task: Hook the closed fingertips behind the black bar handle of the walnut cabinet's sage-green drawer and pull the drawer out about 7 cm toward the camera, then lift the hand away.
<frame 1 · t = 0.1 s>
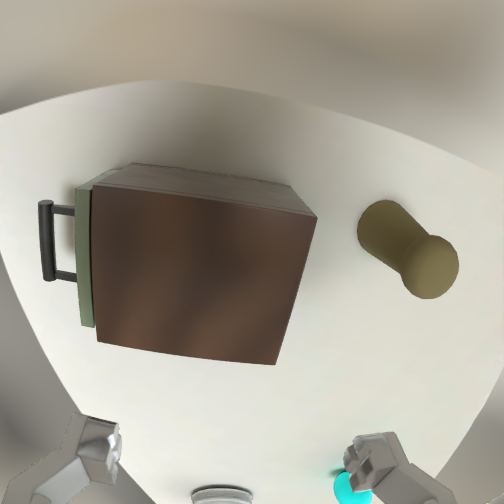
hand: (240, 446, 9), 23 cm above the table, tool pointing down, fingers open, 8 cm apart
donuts: (359, 463, 52), on the table
drawer: (140, 251, 26), point 5 cm above the table, slide at 0.5 cm
cabinet: (200, 237, 31), on the table
cork: (382, 227, 32), on the table
lid: (221, 494, 53), on the table
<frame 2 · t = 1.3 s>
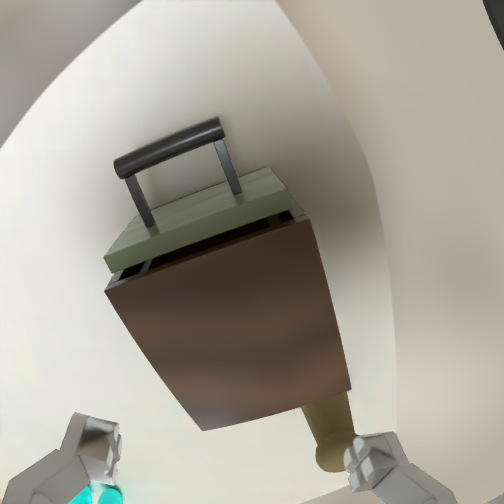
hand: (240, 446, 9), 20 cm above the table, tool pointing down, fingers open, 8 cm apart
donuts: (98, 486, 46), on the table
drawer: (217, 260, 23), point 5 cm above the table, slide at 0.5 cm
cabinet: (237, 282, 29), on the table
cork: (320, 390, 36), on the table
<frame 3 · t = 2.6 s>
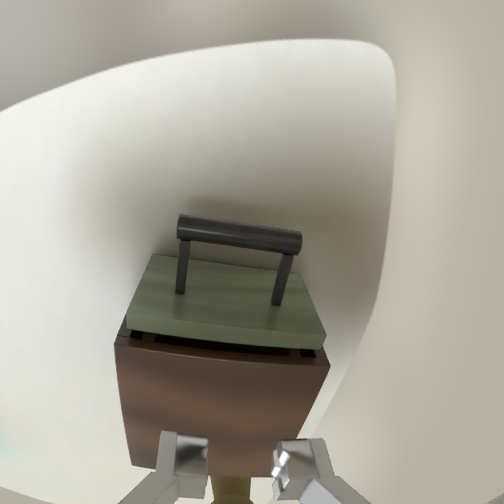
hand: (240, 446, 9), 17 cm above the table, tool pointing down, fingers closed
drawer: (219, 341, 23), point 5 cm above the table, slide at 0.5 cm
cabinet: (213, 347, 29), on the table
cork: (229, 449, 36), on the table
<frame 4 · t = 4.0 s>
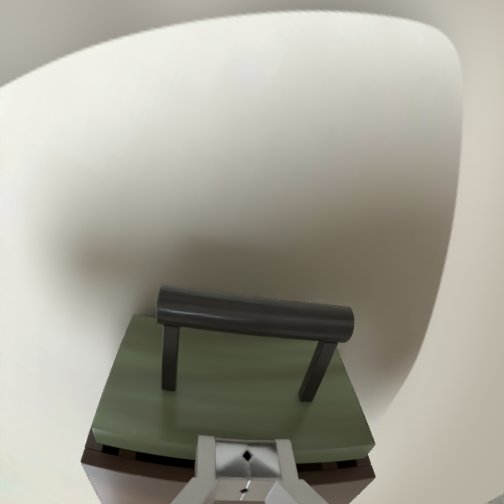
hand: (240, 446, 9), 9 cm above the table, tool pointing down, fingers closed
drawer: (225, 430, 16), point 5 cm above the table, slide at 0.5 cm
cabinet: (216, 414, 22), on the table
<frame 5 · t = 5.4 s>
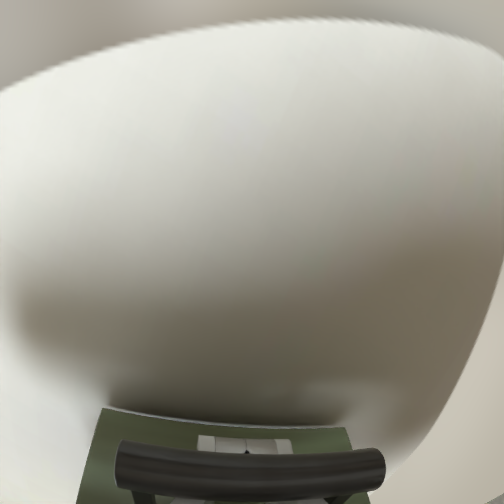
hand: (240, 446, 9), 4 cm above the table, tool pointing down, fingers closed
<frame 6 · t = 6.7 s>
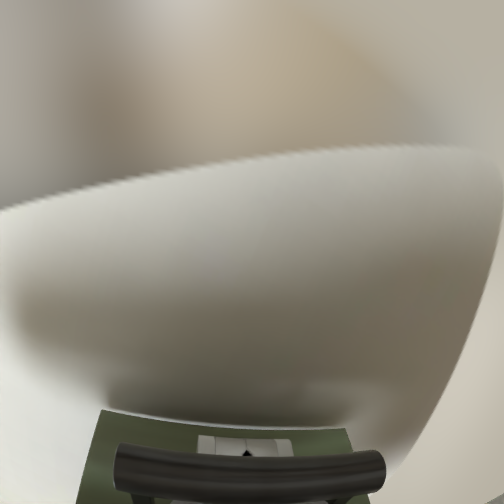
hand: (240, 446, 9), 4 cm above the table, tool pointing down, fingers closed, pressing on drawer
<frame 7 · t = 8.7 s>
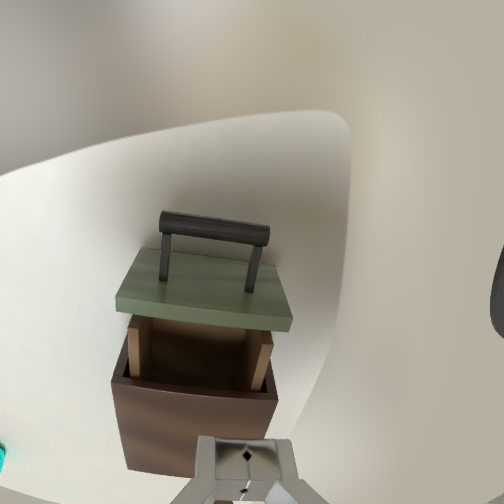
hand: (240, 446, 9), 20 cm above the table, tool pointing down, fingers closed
drawer: (200, 326, 25), point 5 cm above the table, slide at 5.9 cm
cabinet: (193, 372, 33), on the table
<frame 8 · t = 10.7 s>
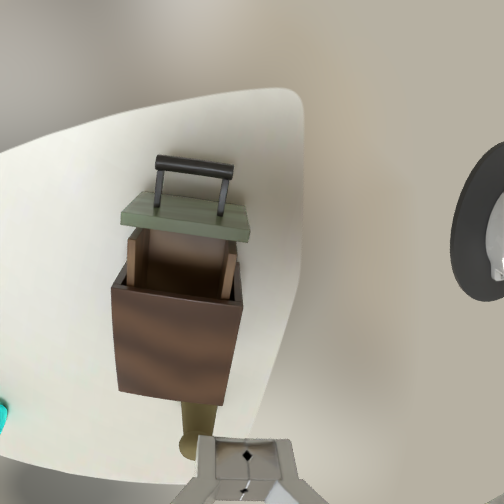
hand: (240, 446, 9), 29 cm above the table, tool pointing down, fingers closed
drawer: (184, 248, 32), point 5 cm above the table, slide at 5.9 cm
cabinet: (181, 306, 41), on the table
cork: (199, 399, 48), on the table
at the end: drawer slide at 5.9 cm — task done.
